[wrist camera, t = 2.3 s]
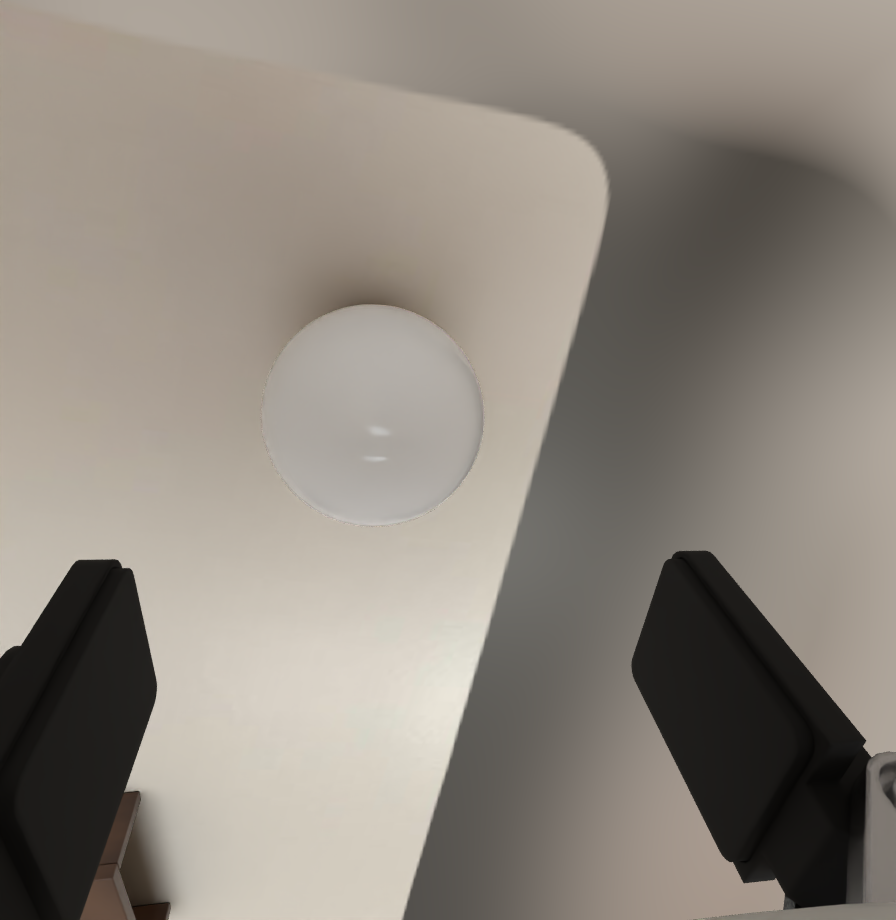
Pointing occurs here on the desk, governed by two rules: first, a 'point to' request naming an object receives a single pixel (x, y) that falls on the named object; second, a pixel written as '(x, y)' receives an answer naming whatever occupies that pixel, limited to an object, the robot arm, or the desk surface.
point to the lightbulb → (372, 415)
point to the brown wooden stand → (118, 874)
